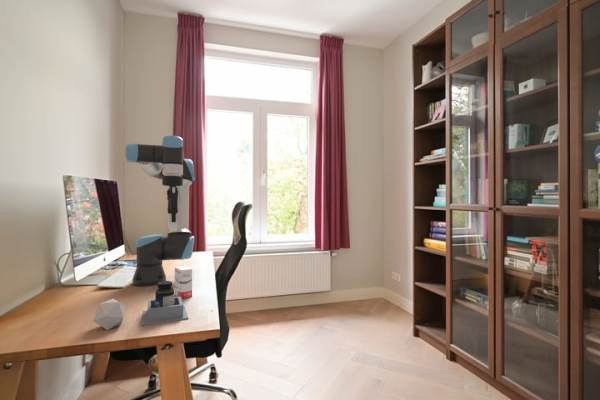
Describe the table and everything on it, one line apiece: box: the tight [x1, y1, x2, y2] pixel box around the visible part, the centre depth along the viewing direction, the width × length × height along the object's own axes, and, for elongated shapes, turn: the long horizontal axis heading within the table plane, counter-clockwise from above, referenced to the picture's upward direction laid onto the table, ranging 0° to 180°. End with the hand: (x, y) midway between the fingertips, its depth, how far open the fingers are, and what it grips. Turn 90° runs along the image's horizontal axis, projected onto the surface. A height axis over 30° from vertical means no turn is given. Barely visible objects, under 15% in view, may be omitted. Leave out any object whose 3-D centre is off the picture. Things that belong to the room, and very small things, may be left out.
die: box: [92, 298, 128, 331], centre depth 101 cm, size 8×9×10 cm
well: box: [141, 296, 189, 326], centre depth 111 cm, size 14×14×4 cm
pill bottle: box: [154, 280, 175, 308], centre depth 111 cm, size 6×6×11 cm
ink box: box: [174, 265, 193, 299], centre depth 135 cm, size 8×5×12 cm, turn 39°
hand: (172, 229), depth 125 cm, fingers open, 13 cm apart
